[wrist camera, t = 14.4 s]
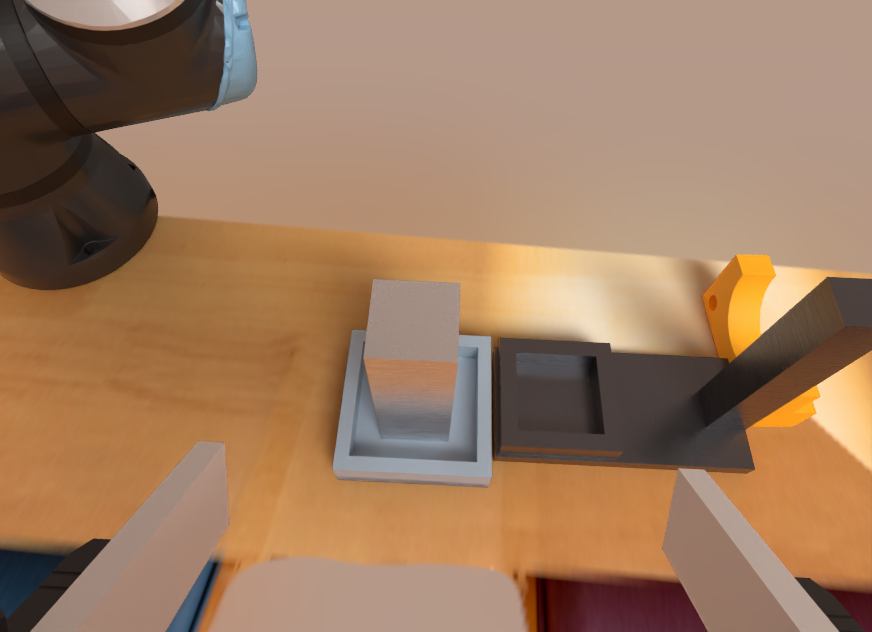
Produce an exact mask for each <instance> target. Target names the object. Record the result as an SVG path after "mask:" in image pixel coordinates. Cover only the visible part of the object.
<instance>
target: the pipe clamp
mask: <svg viewBox="0 0 872 632" xmlns="http://www.w3.org/2000/svg"><path fill="white" fill-rule="evenodd" d="M775 276H776V274H775V271H774V269H773V266H772V263H771V261H770V258H769V256H768V255H736V256H735V257H734V258H733V259H732V261H731V262H730V263H729V264H728V265H727V267H726V268H725V269H724V270H723V271H722V273H721V274H720V275H719V276H718V278H717V279H716V280H715V281H714V282H713V284H712V285H711V286H710V287H709V288H708V290H707V291H706V292H705V293H704V294H703V296H702V299H703V303H704V306H705V310H706V313H707V317H708V321H709V324H710V328H711V331H712V335H713V338H714V342H715V346H716V349H717V353H718V356H719V358H728V361H729V363H730V362H732V361H733V360H734V359H735V358H736V357H737V356H738V355H739V354H741V353H742V352H743V351H744V350H745V349H746V348H747V347H749V346H750V345H751V344H752V343H753V342H754V341H755V340H757V339H758V338H759V337H760V336H761V334H760V309H761V304H762V300H763V297H764V294H765V291H766V289H767V287H768V285H769V284H770V282H771V281H772V279H773V278H774V277H775ZM819 397H820V394H819V391H818V388H817V386H814V387H812V388H811V389H809V390H808V391H806V392H805V393H803V394H801V395H800V396H798V397H797V398H795V399H793V400H792V401H790V402H789V403H787V404H785V405H784V406H782V407H781V408H779V409H778V410H776V411H774V412H773V413H771V414H770V415H768V416H766V417H765V418H763V419H762V420H760V421H758V422H757V423H755V424H754V425H752V426H784V427H793V426H795V425H796V424H798V423H800V422H802V421H803V420H805V419H807V418H809V417H811V416H812V415H814V414H816V410H815V407H814V404H813V402H812V401H814V400H815V399H817V398H819Z"/></svg>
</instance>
